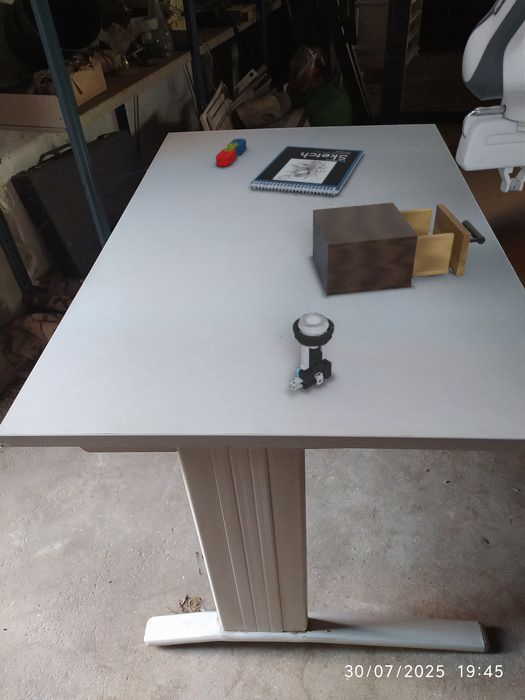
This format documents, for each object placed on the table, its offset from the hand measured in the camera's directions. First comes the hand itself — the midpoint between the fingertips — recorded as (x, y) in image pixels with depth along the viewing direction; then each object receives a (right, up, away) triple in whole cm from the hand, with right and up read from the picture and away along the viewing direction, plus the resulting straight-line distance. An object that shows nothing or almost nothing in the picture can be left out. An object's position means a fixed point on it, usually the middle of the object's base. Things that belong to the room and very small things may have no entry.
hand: (510, 190), depth 91 cm
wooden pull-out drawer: (-13, -11, +6) cm, 18 cm away
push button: (-35, -31, -16) cm, 50 cm away
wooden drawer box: (-24, -13, +6) cm, 28 cm away
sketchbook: (-30, +19, +47) cm, 59 cm away
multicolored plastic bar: (-50, +27, +59) cm, 82 cm away
